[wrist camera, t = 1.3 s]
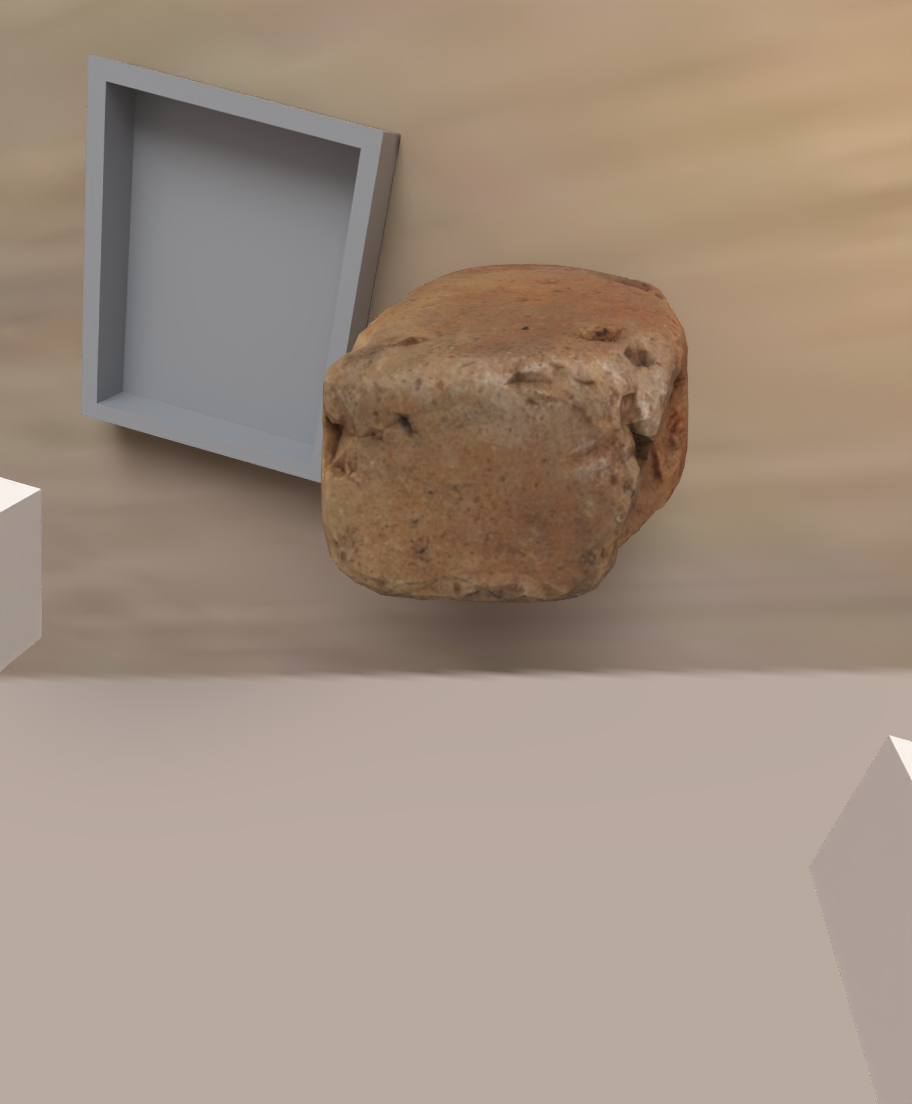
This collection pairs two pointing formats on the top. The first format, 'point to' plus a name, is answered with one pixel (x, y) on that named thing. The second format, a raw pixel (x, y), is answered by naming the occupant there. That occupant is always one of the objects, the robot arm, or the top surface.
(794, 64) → the top surface
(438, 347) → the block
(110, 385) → the tray
